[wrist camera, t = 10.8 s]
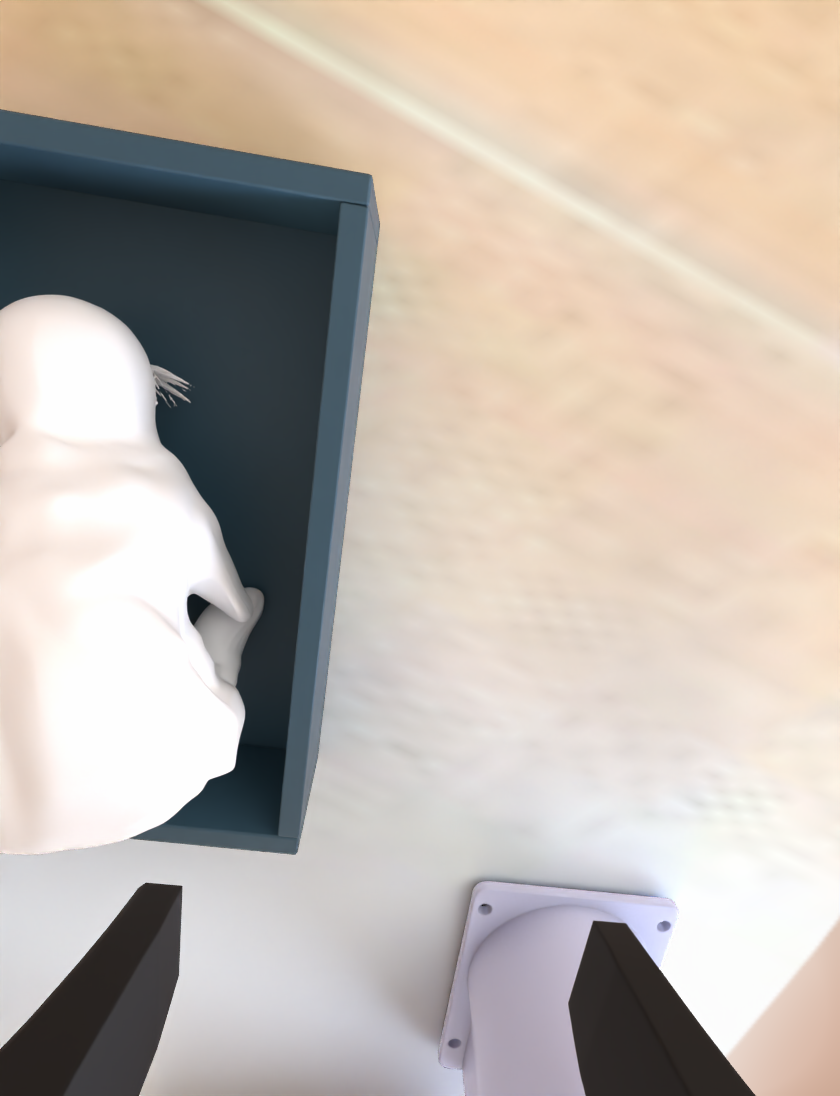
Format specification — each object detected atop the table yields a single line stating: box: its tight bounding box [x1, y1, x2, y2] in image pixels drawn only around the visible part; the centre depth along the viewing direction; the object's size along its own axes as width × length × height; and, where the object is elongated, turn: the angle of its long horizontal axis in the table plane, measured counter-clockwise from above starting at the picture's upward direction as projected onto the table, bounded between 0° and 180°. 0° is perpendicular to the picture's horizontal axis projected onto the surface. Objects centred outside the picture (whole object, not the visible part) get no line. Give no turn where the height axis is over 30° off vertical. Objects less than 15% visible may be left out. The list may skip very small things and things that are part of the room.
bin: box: [0, 109, 380, 855], centre depth 17 cm, size 17×11×4 cm, turn 172°
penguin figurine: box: [0, 295, 264, 855], centre depth 15 cm, size 6×8×12 cm
